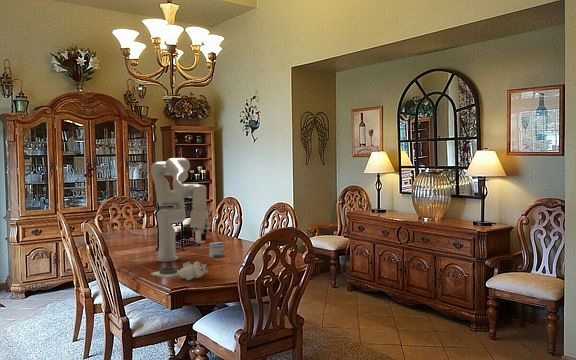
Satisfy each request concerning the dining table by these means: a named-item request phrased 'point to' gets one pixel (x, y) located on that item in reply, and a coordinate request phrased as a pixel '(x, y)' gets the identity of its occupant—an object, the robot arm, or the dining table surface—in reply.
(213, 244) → the medicine box
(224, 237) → the dining table surface
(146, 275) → the dining table surface
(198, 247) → the dining table surface
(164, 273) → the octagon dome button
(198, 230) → the cream cap
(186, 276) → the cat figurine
